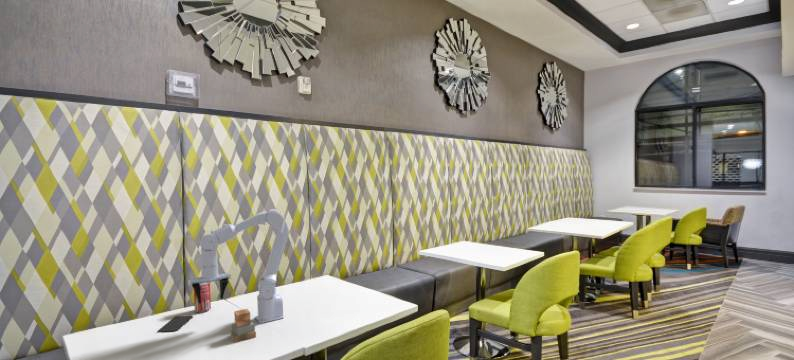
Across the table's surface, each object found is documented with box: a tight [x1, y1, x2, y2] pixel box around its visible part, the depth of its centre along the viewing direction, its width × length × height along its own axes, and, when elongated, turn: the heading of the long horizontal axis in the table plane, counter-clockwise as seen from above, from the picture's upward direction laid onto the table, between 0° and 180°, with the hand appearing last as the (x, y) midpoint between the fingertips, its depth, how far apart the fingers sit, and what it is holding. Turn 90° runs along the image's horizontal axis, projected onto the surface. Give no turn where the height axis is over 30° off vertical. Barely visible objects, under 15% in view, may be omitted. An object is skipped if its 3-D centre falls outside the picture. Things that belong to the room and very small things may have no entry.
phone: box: [157, 315, 194, 333], centre depth 156 cm, size 7×1×15 cm
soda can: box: [193, 282, 212, 314], centre depth 170 cm, size 6×6×12 cm
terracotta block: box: [234, 308, 252, 328], centre depth 143 cm, size 4×4×4 cm
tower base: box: [230, 329, 257, 343], centre depth 143 cm, size 7×7×2 cm
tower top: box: [231, 321, 256, 336], centre depth 143 cm, size 6×6×2 cm
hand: (210, 300), depth 151 cm, fingers open, 7 cm apart
